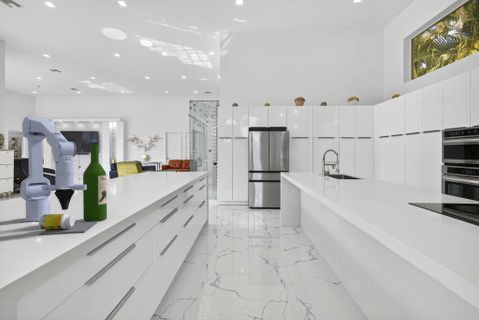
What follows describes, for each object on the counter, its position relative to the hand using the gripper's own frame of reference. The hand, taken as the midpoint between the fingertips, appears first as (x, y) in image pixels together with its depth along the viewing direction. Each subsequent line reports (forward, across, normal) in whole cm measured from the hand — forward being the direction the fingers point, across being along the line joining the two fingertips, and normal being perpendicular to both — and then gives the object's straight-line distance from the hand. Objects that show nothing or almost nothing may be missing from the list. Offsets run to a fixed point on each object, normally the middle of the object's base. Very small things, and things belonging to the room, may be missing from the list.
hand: (65, 209), depth 101 cm
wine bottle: (+8, +6, +13) cm, 17 cm away
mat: (+7, +2, 0) cm, 8 cm away
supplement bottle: (+4, -7, -2) cm, 8 cm away
